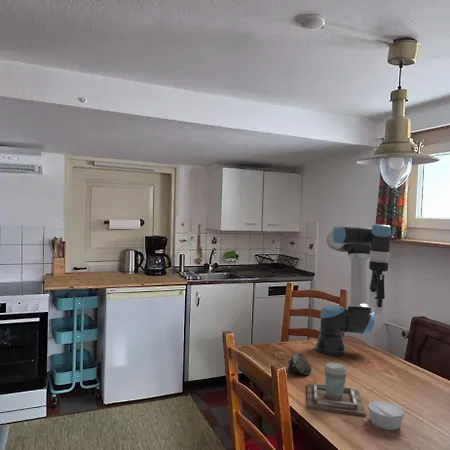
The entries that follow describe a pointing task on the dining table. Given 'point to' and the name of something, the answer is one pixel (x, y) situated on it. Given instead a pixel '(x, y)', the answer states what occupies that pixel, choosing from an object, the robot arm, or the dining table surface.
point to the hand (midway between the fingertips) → (375, 310)
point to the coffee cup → (335, 380)
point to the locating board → (346, 405)
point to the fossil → (299, 365)
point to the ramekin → (385, 415)
